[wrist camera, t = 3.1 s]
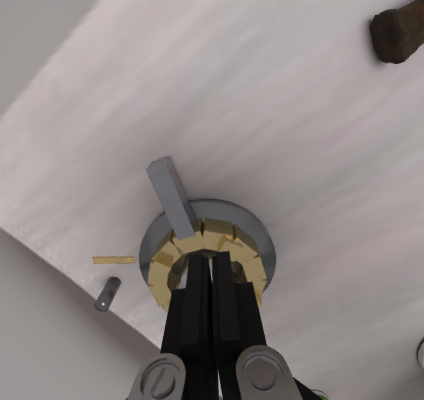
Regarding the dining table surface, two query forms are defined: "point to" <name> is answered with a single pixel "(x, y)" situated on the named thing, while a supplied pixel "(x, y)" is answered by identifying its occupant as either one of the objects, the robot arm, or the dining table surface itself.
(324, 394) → the supplement bottle
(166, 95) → the dining table surface
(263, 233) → the housing
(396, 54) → the hand tool
